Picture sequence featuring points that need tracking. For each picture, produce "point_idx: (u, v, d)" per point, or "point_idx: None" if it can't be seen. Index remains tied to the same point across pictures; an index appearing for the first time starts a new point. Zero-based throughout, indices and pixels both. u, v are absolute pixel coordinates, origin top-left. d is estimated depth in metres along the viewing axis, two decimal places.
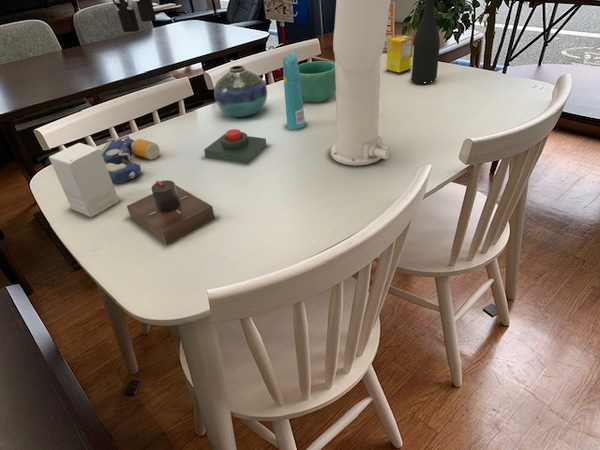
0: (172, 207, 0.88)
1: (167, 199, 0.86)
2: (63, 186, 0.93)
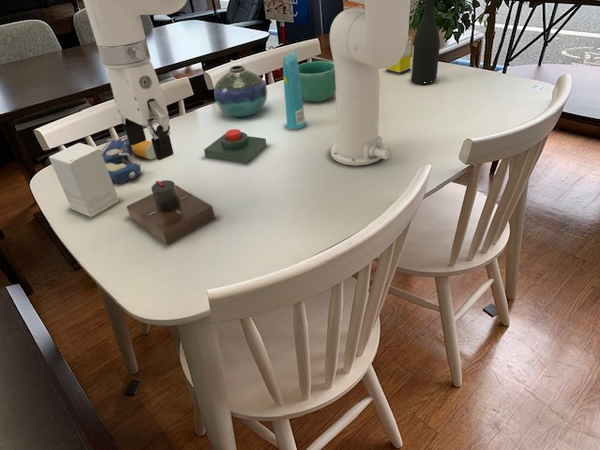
0: (172, 207, 0.88)
1: (167, 199, 0.86)
2: (63, 186, 0.93)
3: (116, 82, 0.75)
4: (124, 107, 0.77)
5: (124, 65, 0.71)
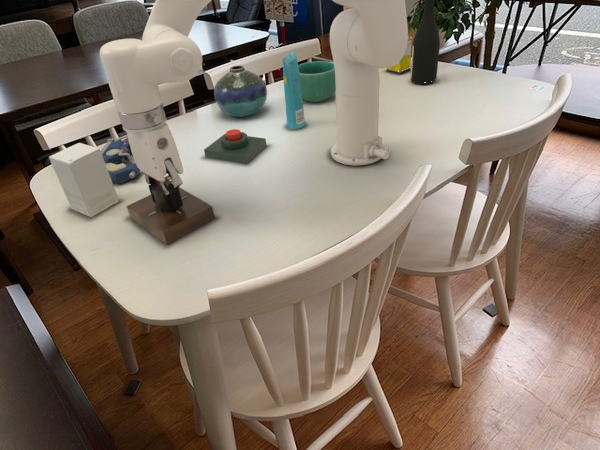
0: None
1: None
2: (63, 186, 0.93)
3: (134, 142, 0.80)
4: (142, 163, 0.83)
5: (143, 129, 0.76)
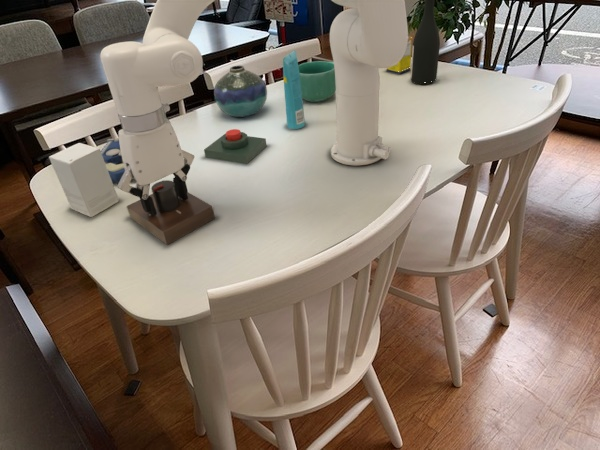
0: None
1: (176, 191, 0.89)
2: (63, 186, 0.93)
3: (153, 146, 0.79)
4: (158, 167, 0.82)
5: (166, 120, 0.80)
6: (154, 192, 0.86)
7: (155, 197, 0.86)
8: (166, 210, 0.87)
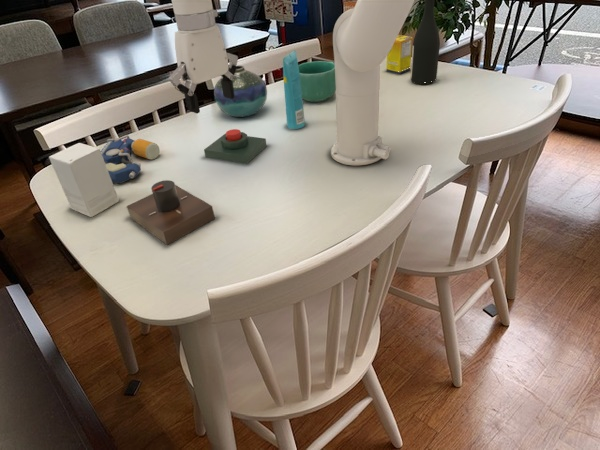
0: None
1: (176, 191, 0.89)
2: (63, 186, 0.93)
3: (205, 45, 0.90)
4: (208, 67, 0.93)
5: None
6: (154, 192, 0.86)
7: (155, 197, 0.86)
8: (166, 210, 0.87)
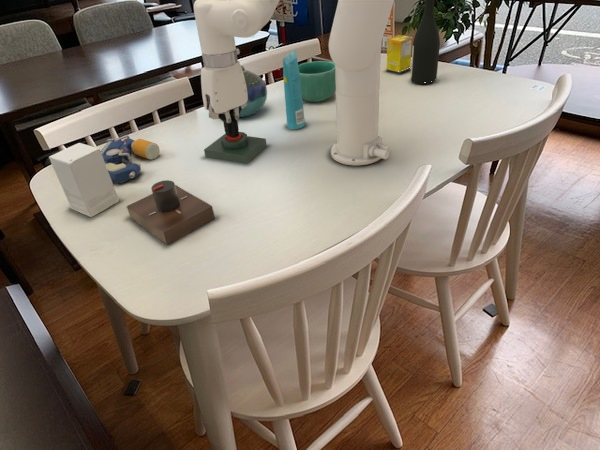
0: None
1: (176, 191, 0.89)
2: (63, 186, 0.93)
3: (227, 80, 1.01)
4: (230, 99, 1.04)
5: (237, 61, 1.02)
6: (154, 192, 0.86)
7: (155, 197, 0.86)
8: (166, 210, 0.87)
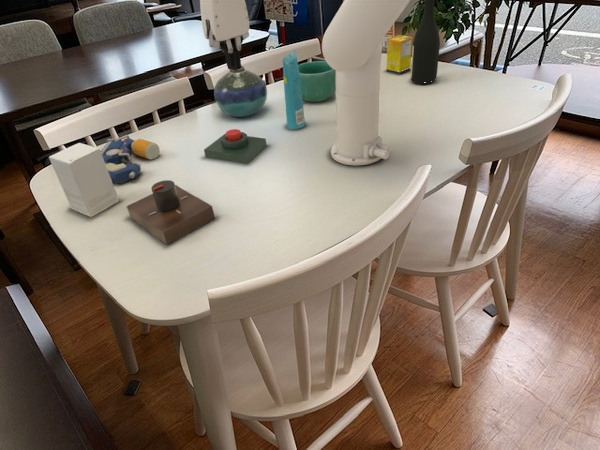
0: None
1: (176, 191, 0.89)
2: (63, 186, 0.93)
3: (228, 4, 0.96)
4: (231, 25, 0.99)
5: None
6: (154, 192, 0.86)
7: (155, 197, 0.86)
8: (166, 210, 0.87)
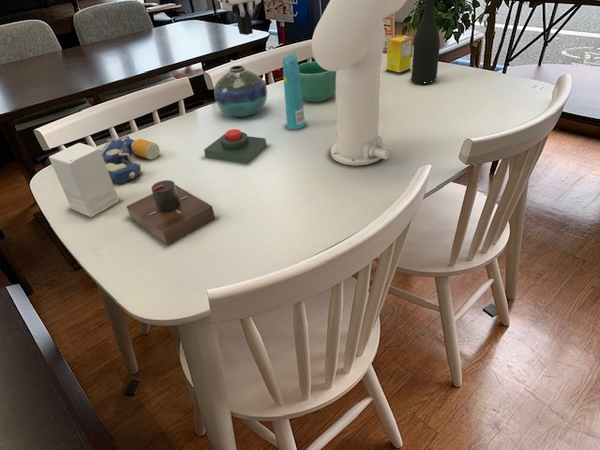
0: None
1: (176, 191, 0.89)
2: (63, 186, 0.93)
3: None
4: None
5: None
6: (154, 192, 0.86)
7: (155, 197, 0.86)
8: (166, 210, 0.87)
